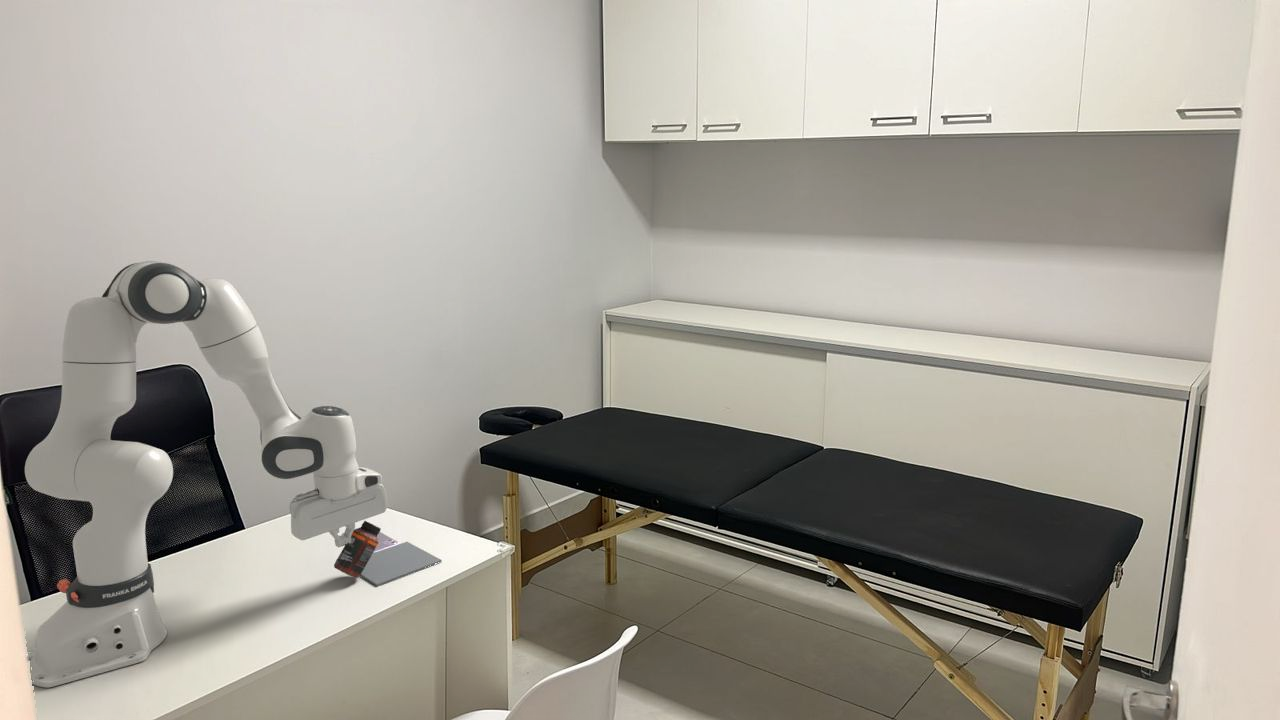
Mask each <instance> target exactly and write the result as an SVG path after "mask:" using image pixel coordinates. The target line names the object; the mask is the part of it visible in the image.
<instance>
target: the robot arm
mask: <svg viewBox="0 0 1280 720" xmlns="http://www.w3.org/2000/svg"><path fill="white" fill-rule="evenodd" d="M181 322H182V323H183V325H185V326H186V327H187V328H188V330H189V331H190V332H191V333H192V336H193V338H194V340H195V342H196V344H197V346H198V348H199V351H201V354H202V356H204V358H205V361H206V362H207V363H208V366H210V367H211V368H212V371H214V372H215V374H216V375H217V377H219V378H221V379H223V380H225V381H229V382H232V383H234V384H235V385H236V386H238V387H239V388H240V389H241V391H242V392H243V394H244V396H245V397H246V399H247V401H248V404H249V405H250V406H251V408H252V410H253V412H254V414H255V416H256V418H257V420H258V422H259V427H260V435H259V436H260V444H261V451H260V452H261V463H262V466H263V468H264V470H265V471H266V472H267V473H268V474H269V475H271V476H272V477H274V478H276V479H281V480H282V479H283V480H291V479H295V478H299V477H303V476H305V475H306V476H307V475H309V474H312V473H313V481H314V484H313V485H314V489H313V490H309V491H307V492H305V493H300V494H297V495H295V497H294V498H293V499H292V500H291V501H290V503H289V512H290V532H291V535H292V536H294V537H295V538H296V539H298V540H300V541H306V540H309V539H312V538H314V537H317V536H321V535H323V534H326V533H328V534H329V535H331V536H332V537H333V539H334V544H335V547H337V548H342V547H343V546H345V545H347V544H350V543H351V542H352V541H351V536H352V533H353V531H354V529H356V523H358V522H361V521H365V520H367V519H370V518H373V517H376V516H378V515H380V514H384V513H385V512H386V511H387V509H388V496H387V492H386V489H385V486H384V485H383V475H382V474H380V473H379V472H377V471H375V470H374V469H370V468H368V467H361V466H359V463H358V461H357V458H356V452H357V440H356V439H357V437H356V432H355V426H354V423H353V422H354V421H353V419H352V416H351V415H350V414H349V412H348V411H347V410H345V409H343V408H340V407H337V406H331V405H321V406H317V407H314V408H312V409H311V410H310V411H309V412H308V413H306V415H305V416H303V417H301V416H300V415H298V414H297V413H296V412H295V411H293V410H292V409H291V408H290V407H289V404H288V403H287V401H286V399H285V397H284V396H283V394H282V392H281V389H280V388H279V386H278V384H277V382H276V380H275V378H274V376H273V374H272V371H271V366H270V358H269V353H268V349H267V345H266V341H265V339H264V336H263V334H262V330H261V329H260V327H259V325H258V324H257V323H258V322H257V321H256V318H255V317H254V314H253V313H252V312H251V309H250V308H249V307H248V305H247V303H246V302H245V301H244V299H243V297H242V296H241V295H240V294H239V292H238V290H237V289H236V288H235V287H234V285H233V284H232V283H230V282H229V281H227V280H225V279H222V278H207V279H202V280H198V279H196V278H195V277H194V276H192V275H191V274H190V273H188V272H187V271H185V270H184V269H182V268H180V267H179V266H176V265H174V264H171V263H167V262H161V261H155V260H154V261H153V260H146V261H140V262H135V263H131V264H129V265H127V266H125V267H123V268H122V269H121V270H120V271H118V272H117V273H116V275H115V276H114V278H113V279H112V280H111V282H110V284H109V285H108V287H107V288H106V289H105V291H104V292H103V294H102V296H100V297H99V296H97V297H96V296H95V297H88V298H84V299H81V300H80V301H77V302H76V303H74V304H73V305H72V306H71V307H70V309H69V310H68V314H67V318H66V323H65V328H64V333H63V343H62V367H61V371H62V373H61V374H62V375H61V377H62V378H61V396H60V397H61V399H60V405H59V410H58V413H57V417H56V419H55V422H54V425H53V426H52V429H51V430H50V432H49V434H48V435H47V436H46V437H45V438H44V439H43V440H41V441H40V442H39V443H38V444H36V445H35V446H34V447H33V448H32V450H31V451H30V452H29V454H28V456H27V458H26V460H25V465H24V475H25V480H26V482H27V484H28V485H29V487H30V488H32V490H34V491H36V492H38V493H41V494H44V495H47V496H51V497H53V498H56V499H60V500H70V501H80V502H89V503H90V504H91V506H92V517H91V520H90V521H88V522H87V523H85V524H84V525H82V526H81V528H80V529H78V530H77V532H76V534H75V535H74V537H73V539H72V549H73V556H74V562H75V569H76V575H77V576H76V578H75V579H74V580H73V581H72V582H71V581H70V580H68V579H67V578H64V579H60V580H59V581H58V583H57V584H56V587H57V589H58V590H59V591H60V593H62V594H65V595H66V597H65V598H66V602H65V603H64V604H63V605H61V606H60V607H59V608H58V609H57V610H56V611H55V612H54V613H53V614H52V615H51V616H50V617H48V619H46V620H45V621H44V622H43V623H42V624H41V625H39V628H38V629H37V632H36V635H35V642H34V649H32V650H31V651H28V652H27V653H28V655H29V660H30V673H31V680H32V683H31V684H32V685H34V686H36V687H40V688H41V687H42V688H53V687H56V686H57V687H58V686H60V685H64V684H67V683H70V682H75V681H78V680H81V679H85V678H89V677H92V676H96V675H99V674H102V673H106V672H109V671H113V670H117V669H120V668H124V667H127V666H131V665H135V664H137V663H138V664H139V663H141V662H143V661H145V660H147V659H148V657H149V656H150V654H151V652H152V651H153V650H154V649H155V648H157V647H158V646H160V644H162V642H163V641H164V640H165V639H166V637H167V634H168V630H167V628H166V627H165V624H164V622H163V621H162V618H161V616H160V614H159V613H160V612H159V610H158V607H157V603H156V600H155V594H154V593H155V587H154V586H155V580H154V574H153V569H152V565H151V563H149V560H148V551H147V541H146V539H147V538H146V524H147V519H148V515H149V512H150V510H151V508H152V507H153V505H154V504H155V503H156V502H157V501H158V500H160V499H161V498H163V496H164V495H165V494H166V493H167V492H168V490H169V488H170V486H171V485H172V484H171V483H172V481H173V477H174V468H173V462H172V460H171V458H170V456H169V454H168V453H167V452H166V451H165V450H163V449H160V448H157V447H155V446H152V445H149V444H146V443H142V442H139V441H125V440H112V438H111V436H112V435H111V434H112V430H113V427H114V425H115V422H116V421H117V419H118V418H119V417H121V416H123V415H125V414H127V413H128V412H129V411H131V410H132V408H133V407H134V406H135V404H136V401H137V347H136V346H137V345H136V344H137V340H138V337H139V334H140V331H141V329H142V328H144V326H146V324H156V325H157V324H159V325H160V324H161V325H169V324H175V323H177V324H178V323H181ZM343 527H345V530H344V532H343V533H344V535H339V533H340V529H341V528H343ZM29 652H30V653H29ZM31 667H32V670H31ZM33 681H34V682H33Z"/></svg>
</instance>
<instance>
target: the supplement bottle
mask: <svg viewBox="0 0 1280 720" xmlns="http://www.w3.org/2000/svg"><path fill="white" fill-rule="evenodd" d="M381 529H382V528H380V527H379V526H377V525H375V524H373V523H371V522H369V521H367V520H363V522H362V524H361V526H360V527H358V529H357V528H355V530H354V531H353V533H352V536H351V541H352V542H351V543H350V544H347V545H344V547H343V548H342V550H341V551H340V553H339V556H338V557H337V559H336V560H335V563H334V564H333V568H335V570H338V571H340V572H342V573H343V574H346V575H348V576H349V577H352V578H354V579H359V578H360V577H361V576H360V575H361V573H362V572H363V570H364V568H365V566H366V564H367V563H368V561H369V559H370V557H371V556H372V554H373V552H374V550H375V548H376V546H377V545H378V542H379V540H378V538H377V535H378V534H379V532H381Z"/></svg>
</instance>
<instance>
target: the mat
mask: <svg viewBox="0 0 1280 720" xmlns="http://www.w3.org/2000/svg"><path fill="white" fill-rule="evenodd" d="M441 561H442V562H443V560H442V559H440V558H439V557H437V556H435V555H433V554H431V553H429V552H427V551H425V550H424V549H422V548H420V547H418V546H416V545H415V544H413V543H410V542H409V541H405V542H402V543H399V545H396V546H393V547H390V548H387V549H384V550H381V551H378V552H376V553H373V554H372V556H371V557H370V559H369V561H368V563H367V564H366V566H365V568H364V570H363V572H362V573H361V575H360V577H362V578H363V579H364V580H366V581H367V582H370V584H372V585H374V586H376V587H380V586H383V585H385V584H388V583H390V582H393V581H396V580H399V579H401V577H402V578H404V577H407V576H409V575H411V573H412V574H414V573H413V572H415V573H417V572H420V571H422V570H421V569H423V570H424V568H425V567H428V566H430V565H433V564H435V563H438V562H441ZM442 562H441V563H442ZM438 564H439V563H438ZM433 566H434V565H433ZM428 568H429V567H428ZM425 569H426V568H425ZM419 570H420V571H419ZM416 571H417V572H416ZM408 574H409V575H408ZM406 575H407V576H406ZM398 578H399V579H398Z"/></svg>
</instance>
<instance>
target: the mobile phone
mask: <svg viewBox="0 0 1280 720" xmlns="http://www.w3.org/2000/svg"><path fill="white" fill-rule="evenodd" d="M358 528H359V527H358ZM358 528H355V529H358ZM355 529H354V530H355ZM341 535H344V532H342V533H341ZM341 535H340V536H341ZM377 538H378V540H379V542H378V545H377V546H376V548H375V550H374V552H373V553H376V552H378V551H381V550H384V549H387V548H390V547H393V546H396V545H399V544H400V543H399V541H397V540H395V539H394V538H392V537H390V536H388V535H387V534H384V533H383V532H381V531H380V532H379V534H378V535H377Z"/></svg>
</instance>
